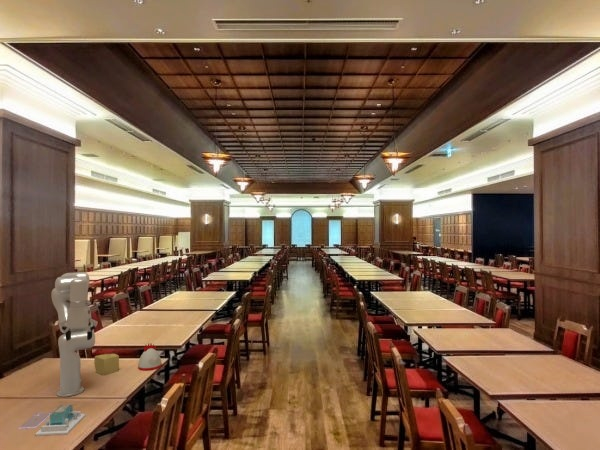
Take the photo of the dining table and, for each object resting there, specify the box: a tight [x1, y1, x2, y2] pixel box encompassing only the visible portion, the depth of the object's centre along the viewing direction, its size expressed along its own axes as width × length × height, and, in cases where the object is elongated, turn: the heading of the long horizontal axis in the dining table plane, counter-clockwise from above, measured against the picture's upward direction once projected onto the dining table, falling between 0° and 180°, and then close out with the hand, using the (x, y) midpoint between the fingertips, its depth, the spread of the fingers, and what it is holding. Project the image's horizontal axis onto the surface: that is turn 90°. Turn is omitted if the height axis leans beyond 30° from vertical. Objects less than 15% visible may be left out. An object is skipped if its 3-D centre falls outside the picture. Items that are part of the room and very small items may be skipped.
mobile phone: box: [18, 412, 53, 430], centre depth 187 cm, size 8×1×15 cm
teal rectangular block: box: [49, 404, 74, 425], centre depth 182 cm, size 10×5×6 cm, turn 6°
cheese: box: [94, 353, 120, 376], centre depth 252 cm, size 10×11×10 cm
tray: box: [34, 409, 87, 437], centre depth 182 cm, size 18×13×4 cm
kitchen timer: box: [137, 343, 162, 372], centre depth 260 cm, size 14×14×15 cm
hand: (79, 339), depth 199 cm, fingers open, 9 cm apart
